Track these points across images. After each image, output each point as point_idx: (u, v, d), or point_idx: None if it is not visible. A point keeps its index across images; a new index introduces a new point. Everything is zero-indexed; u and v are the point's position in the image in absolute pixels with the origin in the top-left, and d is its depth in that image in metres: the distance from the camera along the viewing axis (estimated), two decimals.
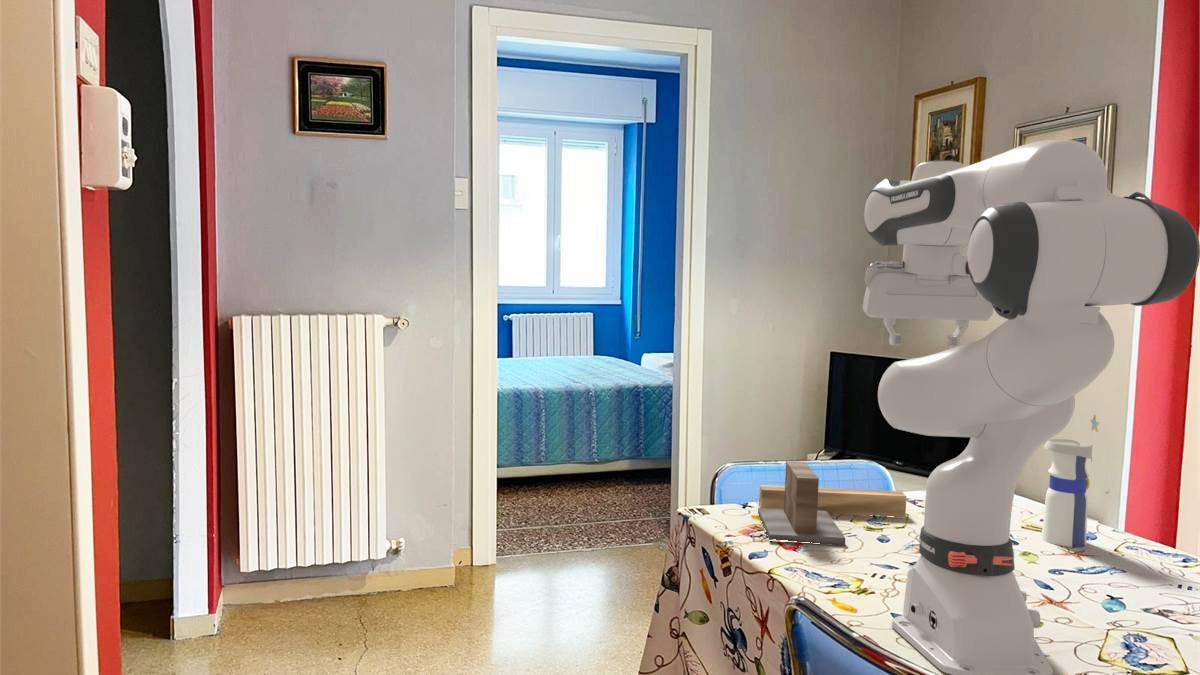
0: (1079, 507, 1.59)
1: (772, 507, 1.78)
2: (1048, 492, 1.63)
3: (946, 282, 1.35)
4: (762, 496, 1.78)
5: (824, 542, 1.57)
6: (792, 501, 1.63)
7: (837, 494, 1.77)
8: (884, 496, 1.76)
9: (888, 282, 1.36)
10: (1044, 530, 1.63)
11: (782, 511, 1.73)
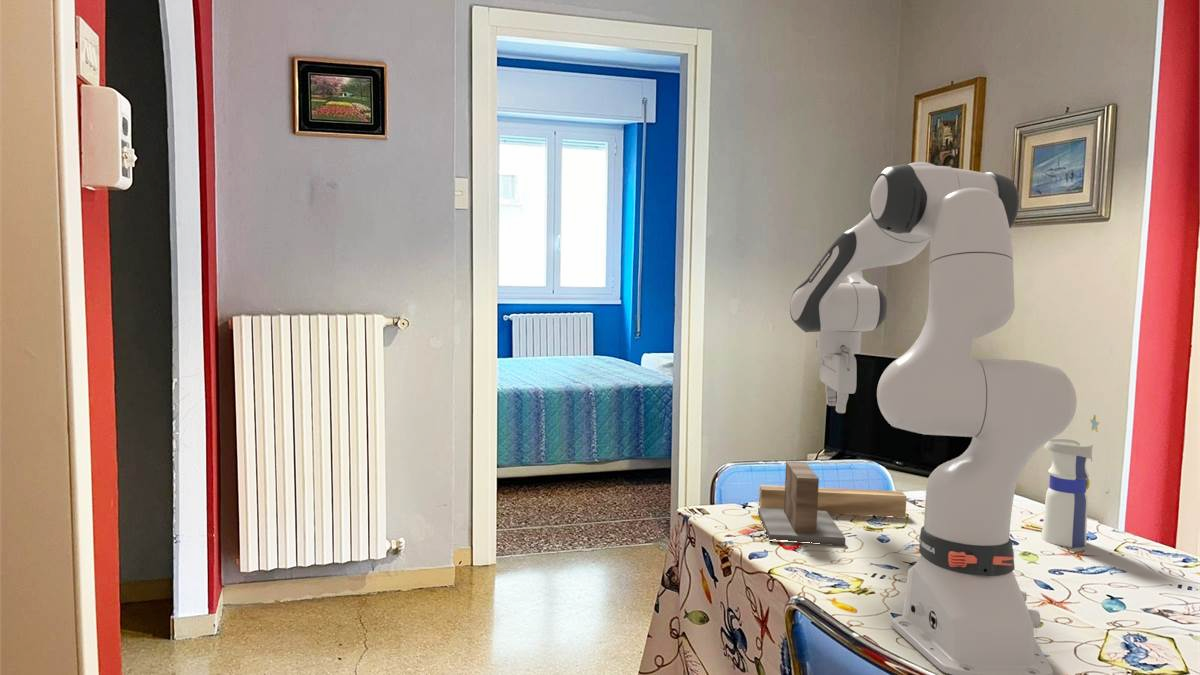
0: (1079, 507, 1.59)
1: (772, 507, 1.78)
2: (1048, 492, 1.63)
3: None
4: (762, 496, 1.78)
5: (824, 542, 1.57)
6: (792, 501, 1.63)
7: (837, 494, 1.77)
8: (884, 496, 1.76)
9: None
10: (1044, 530, 1.63)
11: (782, 511, 1.73)
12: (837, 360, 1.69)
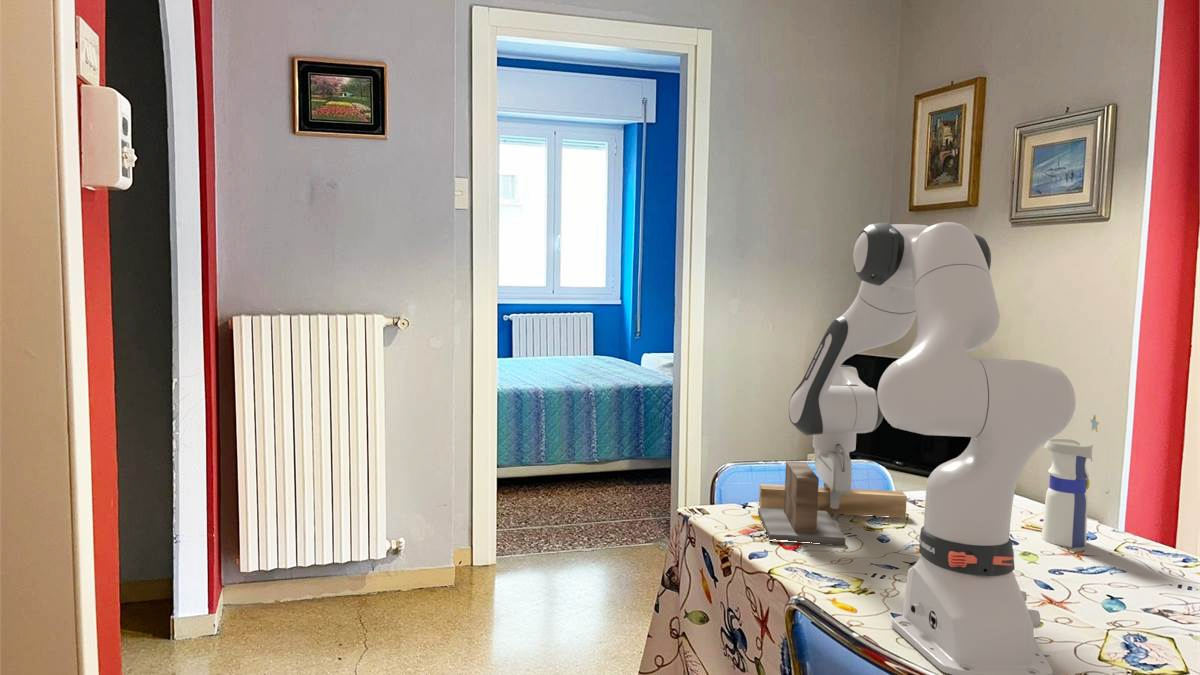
0: (1079, 507, 1.59)
1: (772, 506, 1.78)
2: (1048, 492, 1.63)
3: None
4: (762, 495, 1.79)
5: (824, 542, 1.57)
6: (792, 501, 1.63)
7: None
8: (884, 496, 1.76)
9: None
10: (1044, 530, 1.63)
11: (782, 511, 1.73)
12: (832, 460, 1.71)
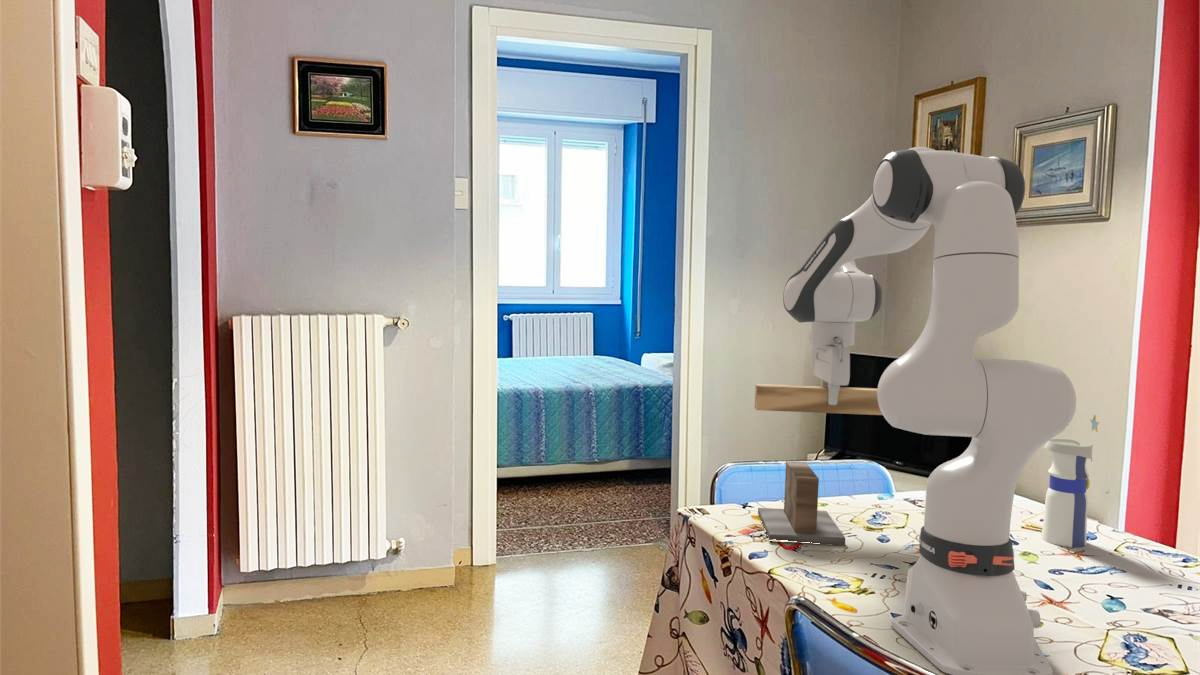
0: (1079, 507, 1.59)
1: (768, 404, 1.73)
2: (1048, 492, 1.63)
3: None
4: (758, 393, 1.73)
5: (824, 542, 1.57)
6: (792, 501, 1.63)
7: None
8: None
9: None
10: (1044, 530, 1.63)
11: (782, 511, 1.73)
12: (830, 351, 1.65)
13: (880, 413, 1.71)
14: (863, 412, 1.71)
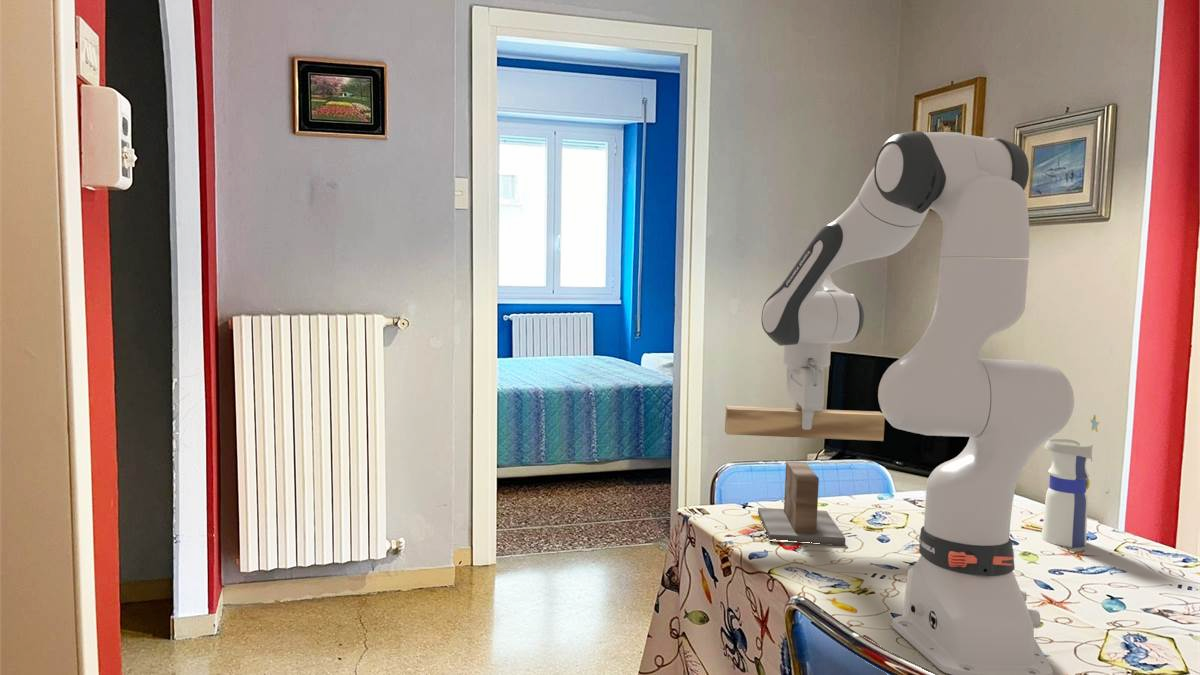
0: (1079, 507, 1.59)
1: (739, 428, 1.63)
2: (1048, 492, 1.63)
3: None
4: (728, 416, 1.63)
5: (824, 542, 1.57)
6: (792, 501, 1.63)
7: None
8: (860, 415, 1.61)
9: None
10: (1044, 530, 1.63)
11: (782, 511, 1.73)
12: (803, 374, 1.56)
13: (856, 438, 1.62)
14: (838, 437, 1.62)
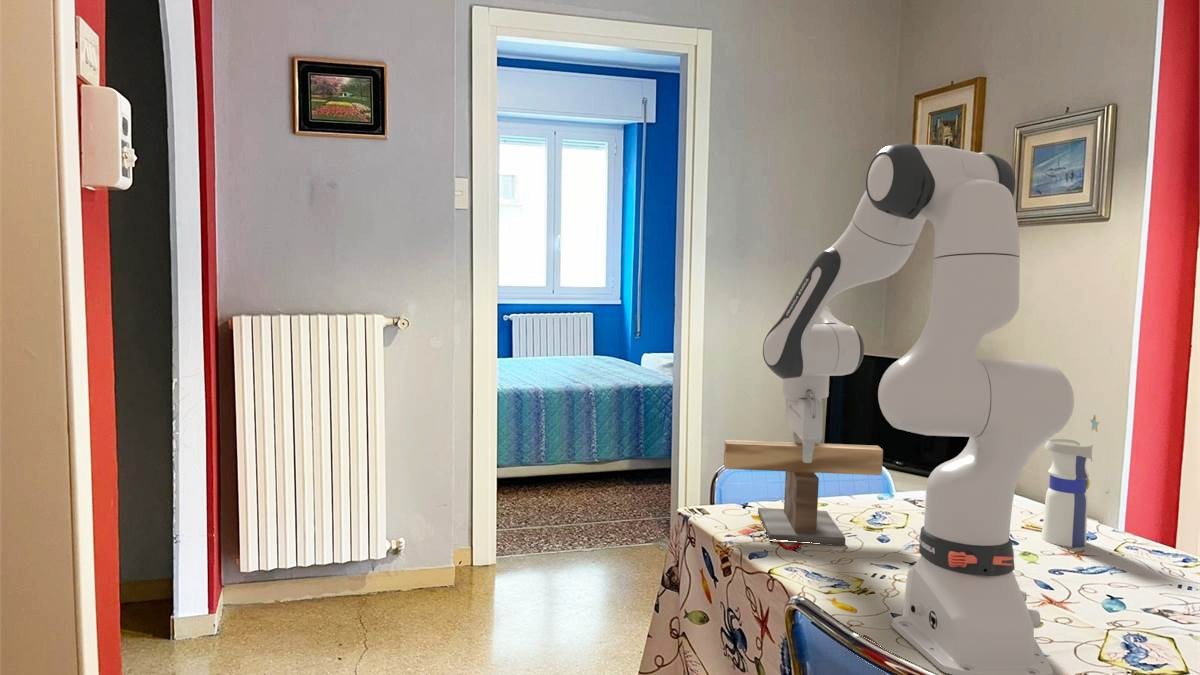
0: (1079, 507, 1.59)
1: (737, 463, 1.64)
2: (1048, 492, 1.63)
3: None
4: (727, 451, 1.64)
5: (824, 542, 1.57)
6: (792, 501, 1.63)
7: None
8: (859, 450, 1.62)
9: None
10: (1044, 530, 1.63)
11: (782, 511, 1.73)
12: (802, 406, 1.56)
13: (855, 472, 1.62)
14: (837, 471, 1.63)
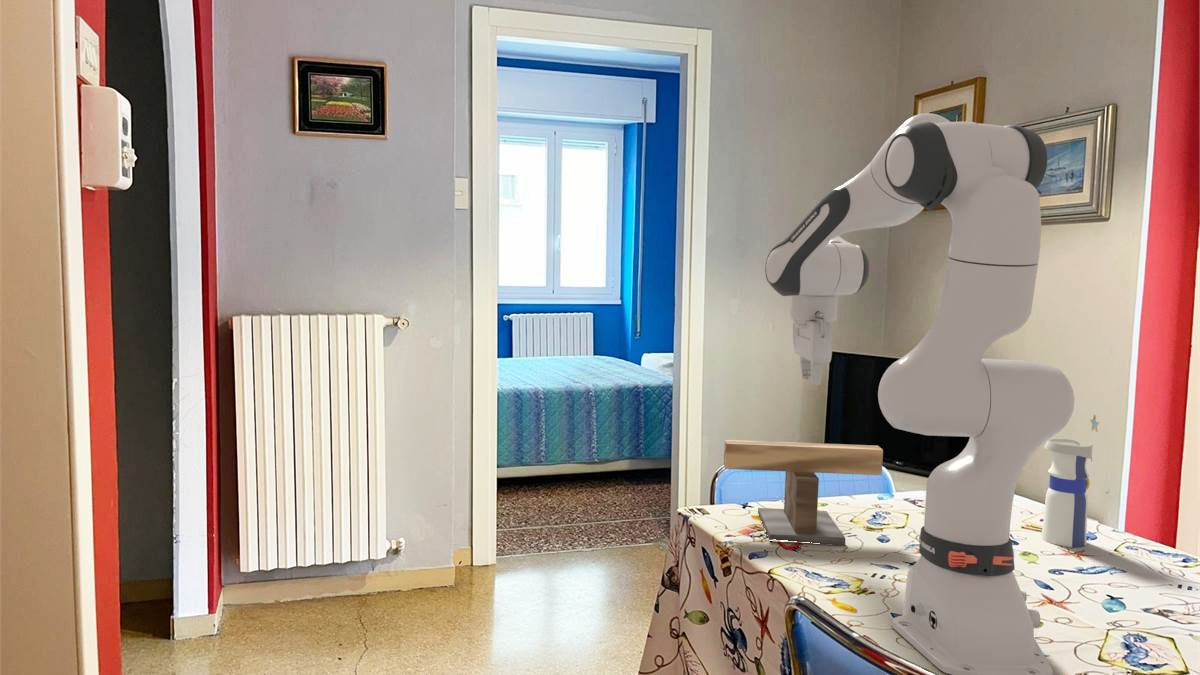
0: (1079, 507, 1.59)
1: (737, 463, 1.64)
2: (1048, 492, 1.63)
3: None
4: (727, 451, 1.64)
5: (824, 542, 1.57)
6: (792, 501, 1.63)
7: (808, 448, 1.63)
8: (859, 450, 1.62)
9: None
10: (1044, 530, 1.63)
11: (782, 511, 1.73)
12: (811, 327, 1.55)
13: (855, 472, 1.62)
14: (837, 471, 1.63)
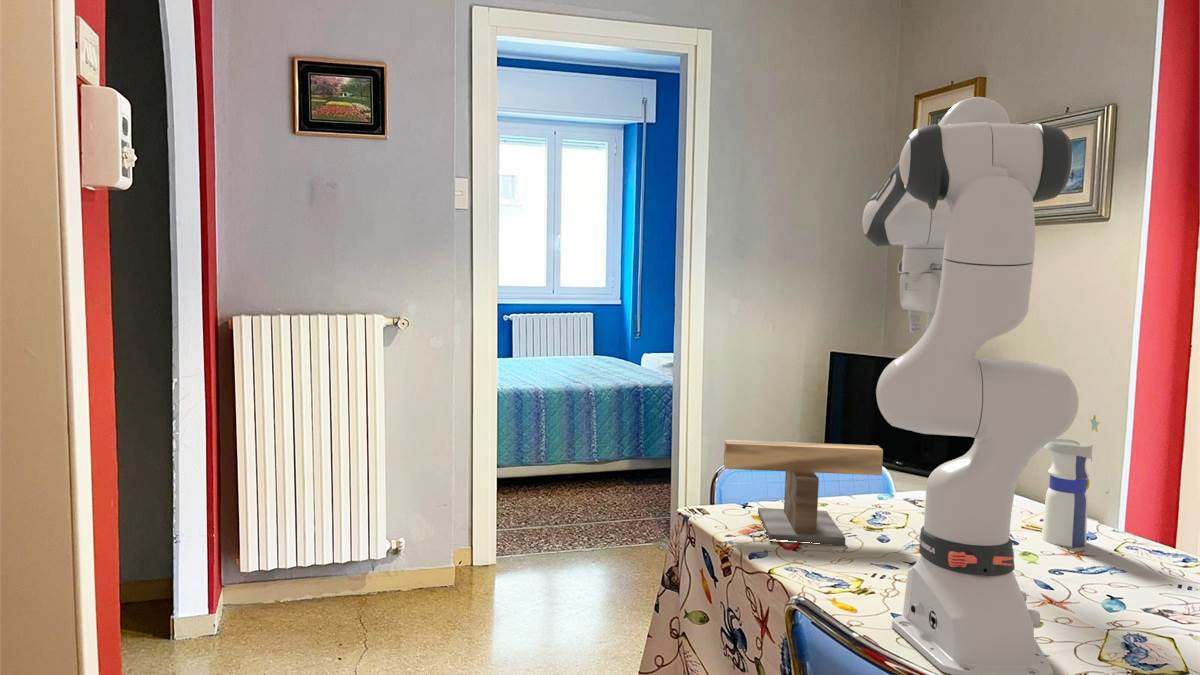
0: (1079, 507, 1.59)
1: (737, 463, 1.64)
2: (1048, 492, 1.63)
3: None
4: (727, 451, 1.64)
5: (824, 542, 1.57)
6: (792, 501, 1.63)
7: (808, 448, 1.63)
8: (859, 450, 1.62)
9: None
10: (1044, 530, 1.63)
11: (782, 511, 1.73)
12: (928, 278, 1.57)
13: (855, 472, 1.62)
14: (837, 471, 1.63)
